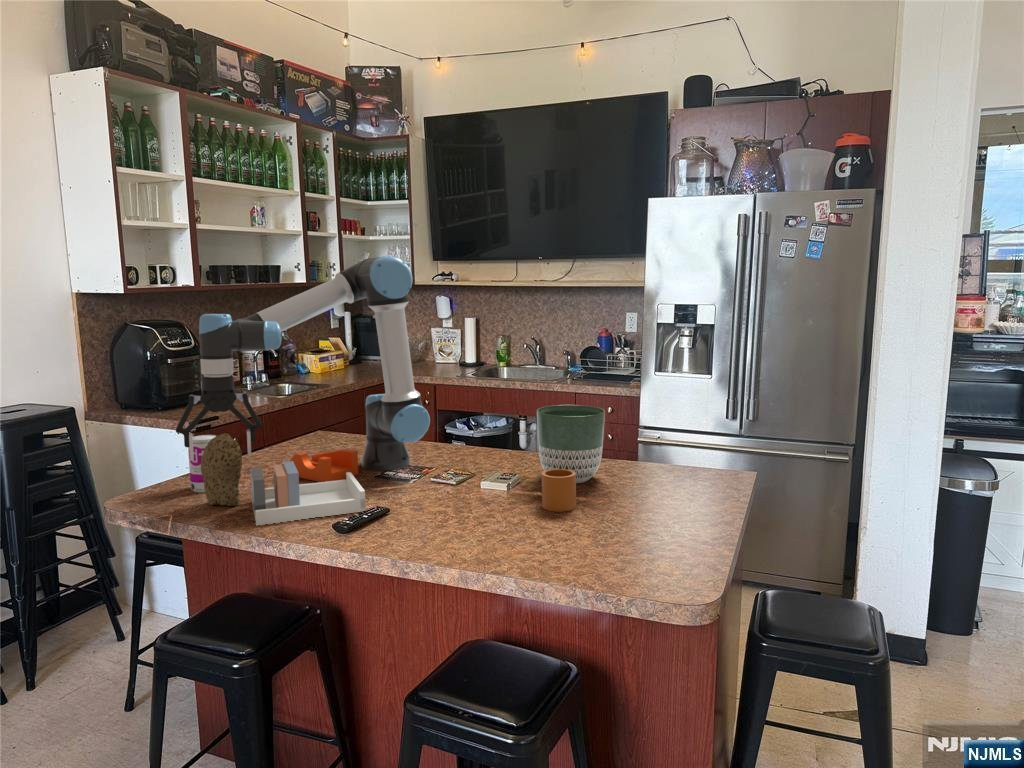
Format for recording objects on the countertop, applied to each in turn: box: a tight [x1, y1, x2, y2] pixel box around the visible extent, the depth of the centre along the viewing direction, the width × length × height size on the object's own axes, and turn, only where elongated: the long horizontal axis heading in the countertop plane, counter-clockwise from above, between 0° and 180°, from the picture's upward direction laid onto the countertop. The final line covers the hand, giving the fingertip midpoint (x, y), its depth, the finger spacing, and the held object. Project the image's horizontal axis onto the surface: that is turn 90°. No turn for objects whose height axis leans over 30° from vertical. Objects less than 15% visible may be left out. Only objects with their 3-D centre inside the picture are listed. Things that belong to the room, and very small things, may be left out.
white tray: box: [250, 472, 366, 527], centre depth 178 cm, size 26×20×6 cm
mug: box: [541, 469, 577, 513], centre depth 179 cm, size 9×12×9 cm
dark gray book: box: [250, 466, 266, 513], centre depth 173 cm, size 2×14×9 cm, turn 23°
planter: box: [536, 404, 606, 485], centre depth 199 cm, size 20×20×21 cm
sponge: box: [201, 432, 243, 507], centre depth 178 cm, size 13×8×20 cm, turn 59°
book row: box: [272, 460, 300, 508], centre depth 176 cm, size 5×13×10 cm, turn 23°
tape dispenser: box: [289, 448, 359, 483], centre depth 207 cm, size 18×13×8 cm
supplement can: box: [187, 434, 217, 494], centre depth 193 cm, size 8×8×15 cm
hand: (221, 457), depth 177 cm, fingers open, 13 cm apart
